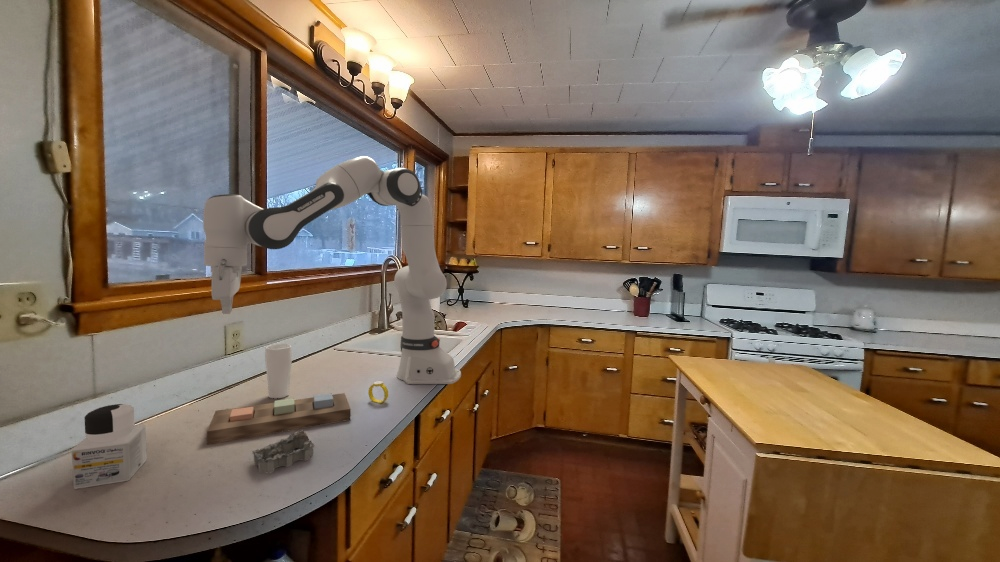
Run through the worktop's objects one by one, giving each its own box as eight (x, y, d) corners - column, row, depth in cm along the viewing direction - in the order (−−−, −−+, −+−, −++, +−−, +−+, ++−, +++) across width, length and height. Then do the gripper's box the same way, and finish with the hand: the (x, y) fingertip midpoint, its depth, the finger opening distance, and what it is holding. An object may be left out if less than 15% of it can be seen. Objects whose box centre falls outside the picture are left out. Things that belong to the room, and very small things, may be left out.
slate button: (331, 403, 105) (331, 393, 105) (333, 409, 101) (333, 398, 101) (313, 406, 103) (313, 395, 102) (314, 412, 99) (314, 401, 99)
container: (72, 490, 68) (68, 419, 67) (97, 467, 75) (93, 403, 74) (129, 481, 71) (126, 413, 70) (147, 460, 78) (145, 398, 77)
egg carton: (306, 445, 87) (306, 428, 87) (316, 459, 81) (316, 441, 81) (251, 461, 80) (250, 442, 79) (258, 478, 74) (258, 457, 74)
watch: (367, 403, 112) (366, 383, 111) (373, 399, 114) (372, 380, 114) (384, 405, 110) (383, 384, 109) (390, 401, 112) (389, 381, 112)
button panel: (344, 403, 110) (344, 393, 110) (350, 420, 100) (350, 408, 99) (215, 422, 96) (215, 410, 95) (207, 444, 85) (206, 431, 85)
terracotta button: (253, 418, 96) (253, 406, 96) (252, 425, 92) (252, 413, 92) (232, 421, 94) (232, 409, 94) (230, 429, 90) (229, 416, 90)
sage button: (294, 409, 100) (294, 398, 100) (294, 415, 97) (294, 404, 96) (274, 412, 98) (274, 400, 98) (274, 418, 94) (274, 407, 94)
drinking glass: (297, 392, 117) (296, 344, 115) (282, 401, 110) (281, 349, 109) (276, 390, 117) (275, 342, 116) (260, 399, 111) (259, 348, 109)
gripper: (236, 260, 89) (237, 319, 90) (244, 257, 107) (245, 306, 108) (202, 260, 86) (204, 321, 87) (217, 257, 104) (218, 307, 105)
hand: (227, 313), depth 98 cm, fingers closed
